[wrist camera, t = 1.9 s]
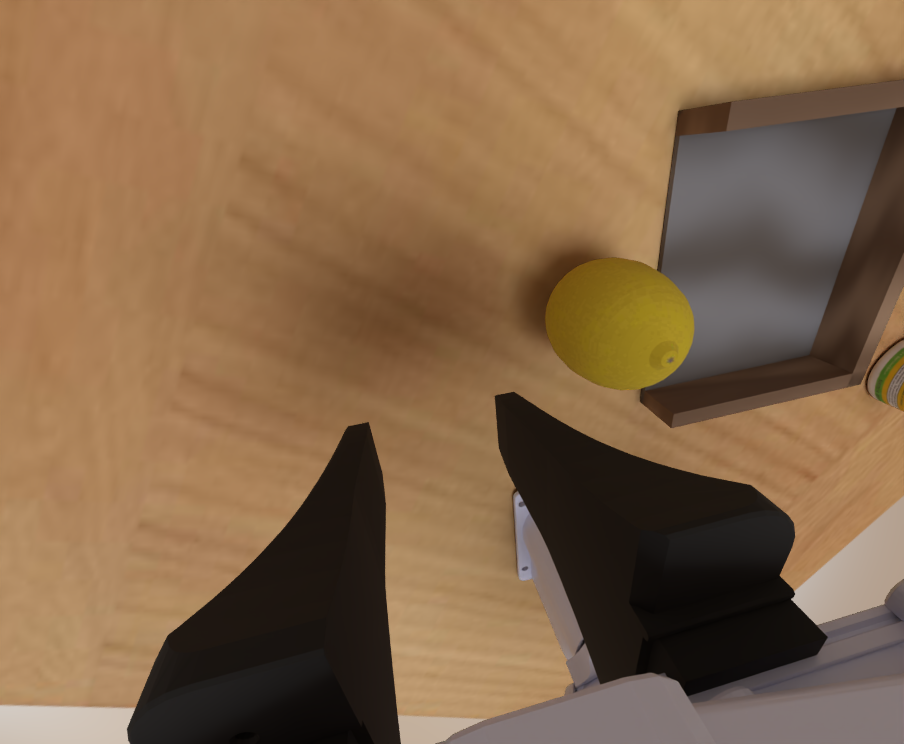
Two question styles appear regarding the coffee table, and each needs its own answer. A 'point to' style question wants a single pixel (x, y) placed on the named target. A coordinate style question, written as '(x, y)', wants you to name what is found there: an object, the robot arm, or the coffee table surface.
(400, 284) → the coffee table surface
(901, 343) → the supplement bottle
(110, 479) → the coffee table surface
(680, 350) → the lemon
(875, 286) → the box
